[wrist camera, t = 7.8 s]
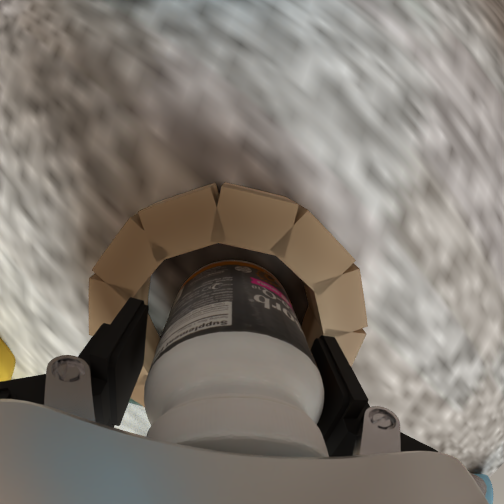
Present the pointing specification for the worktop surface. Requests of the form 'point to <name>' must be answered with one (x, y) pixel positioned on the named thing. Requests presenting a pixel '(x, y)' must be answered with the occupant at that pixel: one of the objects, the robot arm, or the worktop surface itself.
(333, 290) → the segmented tan ring
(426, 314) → the worktop surface
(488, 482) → the sugar bowl
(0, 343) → the teapot
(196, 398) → the pill bottle
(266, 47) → the worktop surface
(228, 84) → the worktop surface
